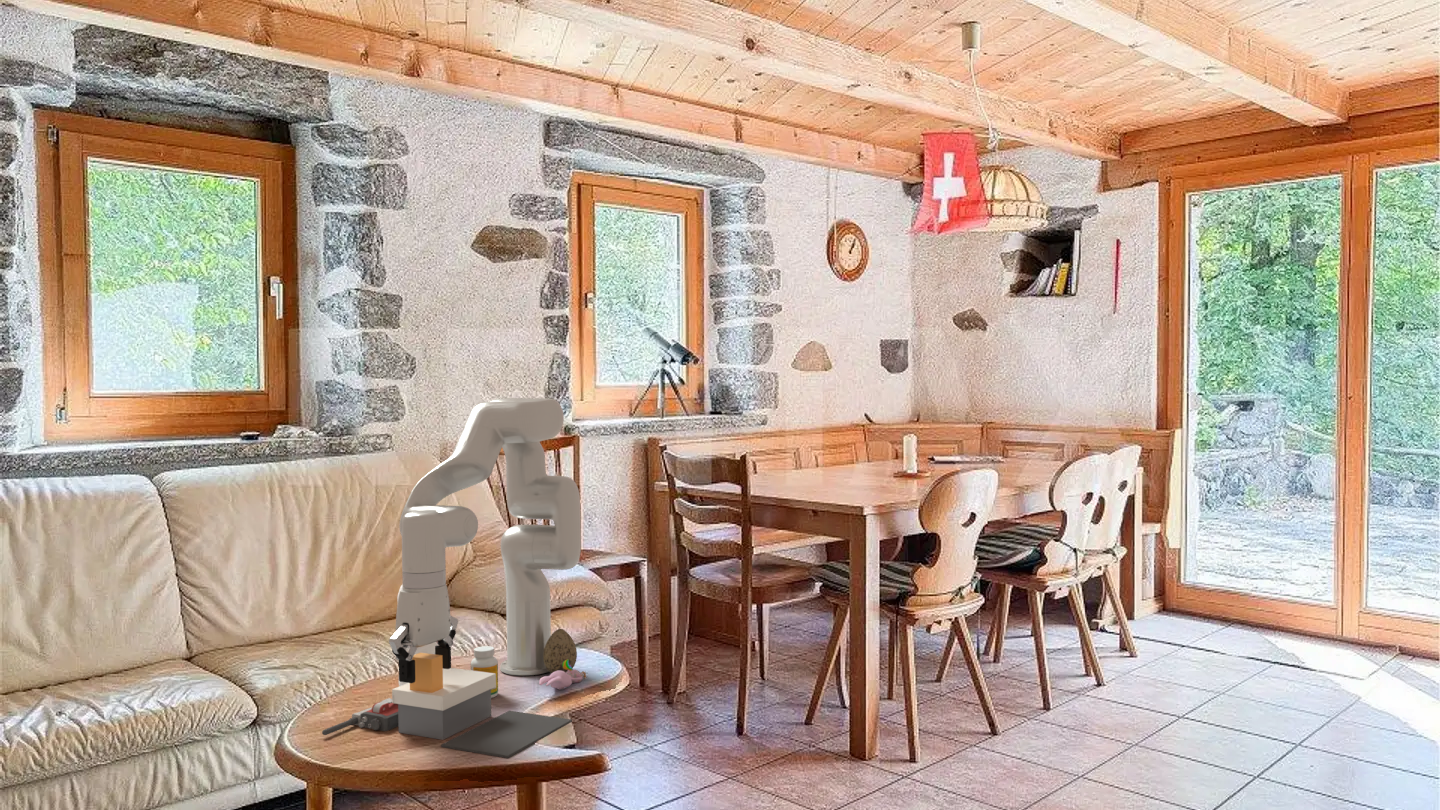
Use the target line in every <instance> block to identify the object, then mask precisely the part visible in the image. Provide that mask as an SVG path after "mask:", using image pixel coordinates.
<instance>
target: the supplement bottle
mask: <svg viewBox="0 0 1440 810" xmlns="http://www.w3.org/2000/svg"><path fill="white" fill-rule="evenodd" d="M473 656H474V658H472V659H471V662H470V670H473V671H480V672H488V673H496V687H494V688H492V689H491V699H493V698H495V697H496V696H498V694H499V670H498V669H499V665H498V664H499V662H498V658H496V657H495V647H494V646H491V645H483V646H478V647H475V648H474V649H473Z"/></svg>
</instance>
